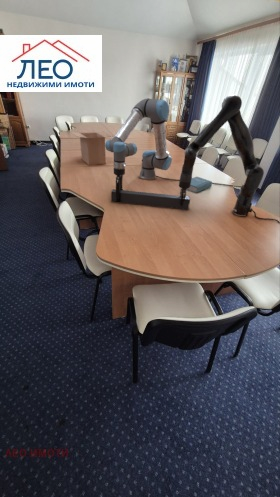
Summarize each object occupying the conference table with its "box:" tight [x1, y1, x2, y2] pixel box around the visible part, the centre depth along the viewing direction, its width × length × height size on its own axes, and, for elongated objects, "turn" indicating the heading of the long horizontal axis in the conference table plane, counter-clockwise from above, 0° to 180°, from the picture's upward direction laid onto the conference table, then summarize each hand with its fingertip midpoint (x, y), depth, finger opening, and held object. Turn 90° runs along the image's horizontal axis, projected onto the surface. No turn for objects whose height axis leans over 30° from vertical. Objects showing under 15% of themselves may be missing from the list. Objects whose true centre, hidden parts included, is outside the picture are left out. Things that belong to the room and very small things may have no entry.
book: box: [186, 176, 213, 194], centre depth 191 cm, size 23×16×5 cm
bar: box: [110, 188, 191, 211], centre depth 157 cm, size 55×5×8 cm, turn 84°
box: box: [70, 129, 114, 166], centre depth 229 cm, size 44×36×27 cm
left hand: (119, 200), depth 160 cm, fingers closed on bar, 5 cm apart
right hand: (181, 203), depth 156 cm, fingers open, 5 cm apart
